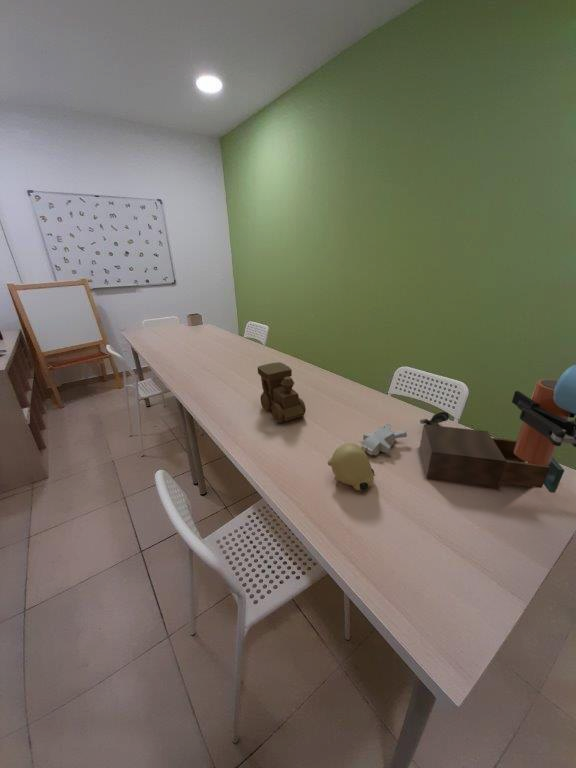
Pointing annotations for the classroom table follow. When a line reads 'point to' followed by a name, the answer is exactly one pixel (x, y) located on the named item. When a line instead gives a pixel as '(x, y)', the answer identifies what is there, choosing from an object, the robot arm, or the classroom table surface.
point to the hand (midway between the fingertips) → (533, 397)
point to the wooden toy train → (280, 392)
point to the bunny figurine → (381, 440)
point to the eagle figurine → (436, 419)
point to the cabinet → (461, 456)
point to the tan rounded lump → (352, 466)
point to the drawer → (527, 469)
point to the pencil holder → (529, 440)
